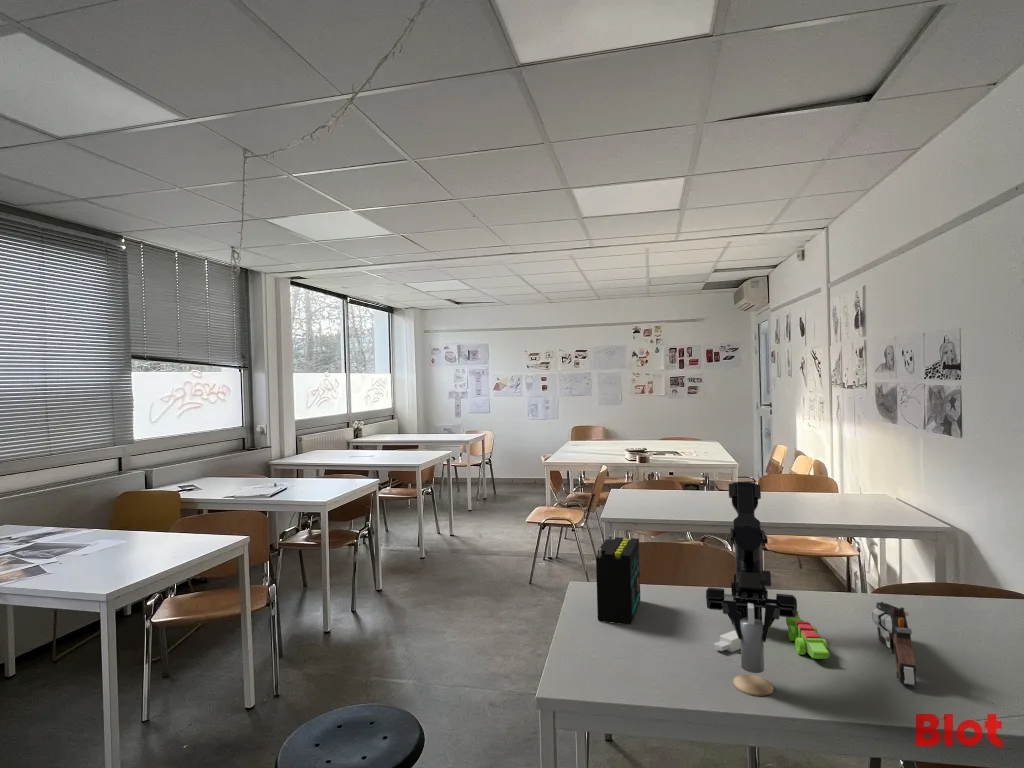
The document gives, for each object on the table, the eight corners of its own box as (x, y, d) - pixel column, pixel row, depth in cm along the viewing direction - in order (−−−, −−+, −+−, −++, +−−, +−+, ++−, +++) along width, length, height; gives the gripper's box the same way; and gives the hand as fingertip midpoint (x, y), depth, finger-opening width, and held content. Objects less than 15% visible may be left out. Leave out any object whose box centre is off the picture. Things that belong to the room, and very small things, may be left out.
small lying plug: (737, 640, 149) (737, 629, 149) (749, 645, 146) (749, 633, 146) (712, 650, 143) (711, 638, 143) (723, 656, 140) (723, 643, 141)
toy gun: (896, 664, 146) (890, 601, 149) (923, 686, 121) (916, 610, 125) (874, 661, 147) (870, 599, 151) (897, 683, 123) (891, 608, 126)
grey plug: (741, 661, 129) (739, 600, 129) (763, 664, 127) (761, 603, 127) (741, 671, 124) (739, 608, 124) (764, 674, 123) (762, 610, 123)
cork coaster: (754, 674, 131) (754, 672, 131) (782, 691, 123) (782, 688, 123) (725, 681, 128) (725, 678, 128) (751, 699, 120) (751, 696, 120)
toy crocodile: (835, 667, 133) (834, 641, 133) (804, 665, 135) (803, 639, 135) (809, 632, 153) (809, 609, 153) (782, 630, 154) (782, 608, 154)
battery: (609, 597, 181) (607, 534, 182) (640, 600, 178) (638, 535, 178) (597, 621, 163) (595, 550, 164) (631, 625, 160) (629, 552, 160)
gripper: (705, 552, 133) (704, 618, 122) (794, 558, 126) (802, 629, 116) (707, 576, 140) (707, 640, 130) (792, 583, 134) (799, 651, 123)
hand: (752, 640), depth 124 cm, fingers closed on grey plug, 5 cm apart
